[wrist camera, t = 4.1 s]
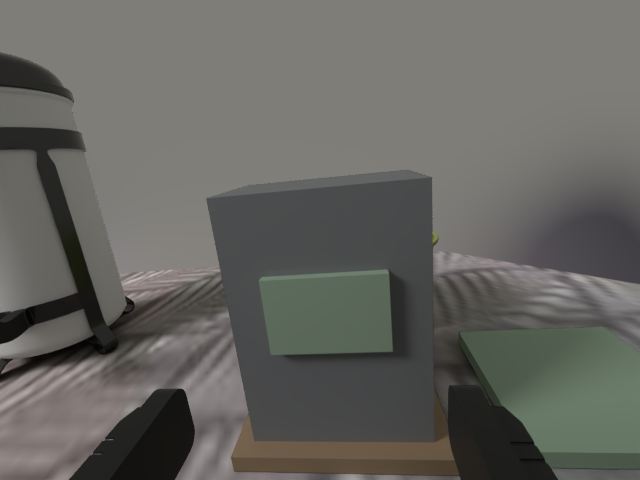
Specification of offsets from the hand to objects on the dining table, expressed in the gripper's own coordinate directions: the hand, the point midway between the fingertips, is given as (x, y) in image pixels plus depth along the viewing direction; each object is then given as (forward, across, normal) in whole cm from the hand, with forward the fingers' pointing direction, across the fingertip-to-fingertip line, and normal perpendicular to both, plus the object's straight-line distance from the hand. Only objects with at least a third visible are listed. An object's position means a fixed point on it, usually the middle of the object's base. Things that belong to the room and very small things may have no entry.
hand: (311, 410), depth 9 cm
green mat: (+11, -15, +9) cm, 21 cm away
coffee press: (+18, +29, +9) cm, 35 cm away
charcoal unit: (+9, 0, +9) cm, 13 cm away
